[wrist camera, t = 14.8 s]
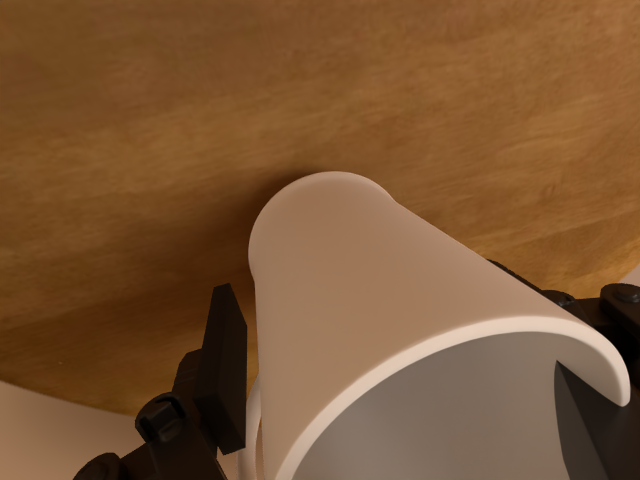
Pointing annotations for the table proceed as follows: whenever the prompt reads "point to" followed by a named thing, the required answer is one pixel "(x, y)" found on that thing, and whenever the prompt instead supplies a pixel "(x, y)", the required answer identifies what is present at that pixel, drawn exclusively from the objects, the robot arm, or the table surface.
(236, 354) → the robot arm
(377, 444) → the mug
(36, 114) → the table surface
